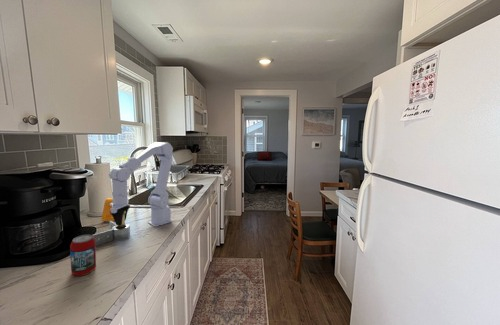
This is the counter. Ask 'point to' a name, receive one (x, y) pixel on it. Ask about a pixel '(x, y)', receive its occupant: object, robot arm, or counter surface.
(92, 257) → the beverage can
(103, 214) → the bracket
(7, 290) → the counter surface
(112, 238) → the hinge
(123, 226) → the hinge pin
